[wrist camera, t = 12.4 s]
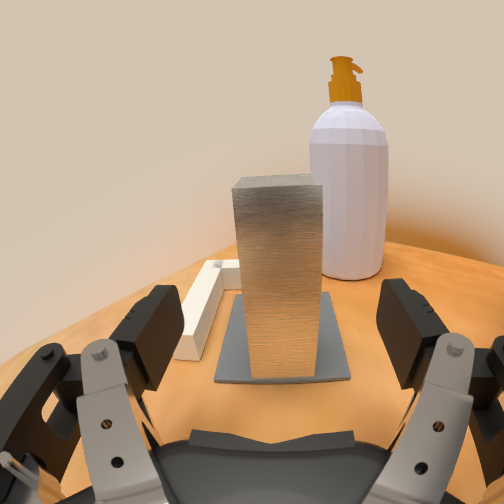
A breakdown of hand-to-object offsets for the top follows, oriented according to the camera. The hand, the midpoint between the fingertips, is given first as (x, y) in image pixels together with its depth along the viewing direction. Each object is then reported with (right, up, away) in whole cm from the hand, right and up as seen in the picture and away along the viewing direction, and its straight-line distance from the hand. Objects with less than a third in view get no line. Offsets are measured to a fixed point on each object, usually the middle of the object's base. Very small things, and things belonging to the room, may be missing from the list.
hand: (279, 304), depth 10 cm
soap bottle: (+11, 0, +22) cm, 24 cm away
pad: (+1, -4, +11) cm, 12 cm away
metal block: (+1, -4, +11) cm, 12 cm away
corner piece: (-1, -3, +14) cm, 14 cm away
